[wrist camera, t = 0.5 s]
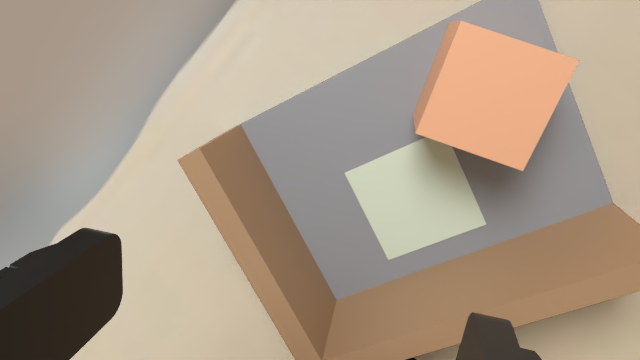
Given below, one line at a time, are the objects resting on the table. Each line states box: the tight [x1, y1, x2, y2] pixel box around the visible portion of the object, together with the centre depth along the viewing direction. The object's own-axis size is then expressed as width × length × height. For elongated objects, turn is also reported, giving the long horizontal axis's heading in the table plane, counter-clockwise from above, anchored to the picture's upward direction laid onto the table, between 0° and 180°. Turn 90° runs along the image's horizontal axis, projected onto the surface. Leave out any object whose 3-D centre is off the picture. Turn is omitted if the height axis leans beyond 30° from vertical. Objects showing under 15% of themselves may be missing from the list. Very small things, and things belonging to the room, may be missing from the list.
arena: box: [178, 0, 640, 360], centre depth 28 cm, size 22×17×8 cm
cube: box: [413, 21, 580, 171], centre depth 26 cm, size 6×6×6 cm
